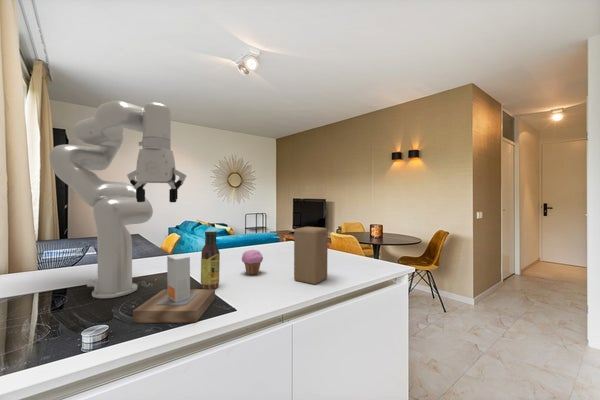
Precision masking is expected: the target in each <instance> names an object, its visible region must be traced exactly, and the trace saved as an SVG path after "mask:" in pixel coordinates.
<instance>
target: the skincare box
mask: <svg viewBox="0 0 600 400" xmlns="http://www.w3.org/2000/svg"><path fill="white" fill-rule="evenodd" d="M166 257H167V258H166V259H167V261H166V263H167V267H166V268H167V273H166V274H167V276H166V277H167V278H166V279H167V289H168V297H169V298H170V299H172V300H173V301H174V302H180V301H184V300H187V299H190V289H191V257H190V256H188V255H186V254H182V253H177V254H169V255H166Z"/></svg>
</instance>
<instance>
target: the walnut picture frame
mask: <svg viewBox="0 0 600 400" xmlns="http://www.w3.org/2000/svg"><path fill="white" fill-rule="evenodd" d="M215 300H216V288H214V289H202V288H201V289H199V288H195V289H191V288H190V299H187V300H184V301H180V302H174V301H173V300H172V299H170V298H169V297H168V288H166V289H165V288H164V289H162V290H161V291H159V292H157V293H156V294H155V295H154V296H152V297H151V298H149V299H148V300H147V301H145V302H143V303H142V304H141V305H139V306H138V307H137V308H135V309H133V310H132V323H134V324H135V323H141V324H142V323H147V324H149V323H154V324H155V323H157V324H158V323H160V324H161V323H168V324H169V323H174V324H175V323H178V324H179V323H181V324H182V323H189V324H190V323H192V324H193V323H197V322H198V321H199V320H200V319H201V317H202V316H203V315H204V314H205V312H206V311H207V310H208V309H209V307H210V306H211V304H212V303H213V302H214V301H215Z"/></svg>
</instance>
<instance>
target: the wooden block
mask: <svg viewBox="0 0 600 400" xmlns="http://www.w3.org/2000/svg"><path fill="white" fill-rule="evenodd" d="M293 233H294V235H293V239H294V240H293V244H294V245H293V255H294V256H293V259H294V260H293V280H294V281H296V282H302V283H307V284H311V285H318V284H319V283H321V282H323V281H324V280H326V279H327V278H328V245H329V243H328V241H329V239H328V233H329V232H328V228H326V227H318V226H316V227H315V226H303V227H299V228H298V227H297V228H295V229H294V232H293Z"/></svg>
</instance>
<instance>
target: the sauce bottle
mask: <svg viewBox="0 0 600 400" xmlns="http://www.w3.org/2000/svg"><path fill="white" fill-rule="evenodd" d="M217 235H218V231H217V230H204V236H205V237H204V238H205V240H204V241H205V242H204V246H203V247H202V250H201V259H200V284H201V285H200V287H201V289H217V288H218V287H219V285H220V284H219V283H220V265H221V263H220V260H221V259H220V255H221V254H220V251H219V248H218V244H217Z"/></svg>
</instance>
